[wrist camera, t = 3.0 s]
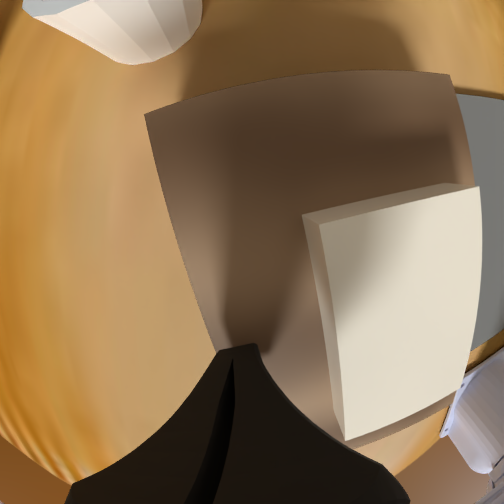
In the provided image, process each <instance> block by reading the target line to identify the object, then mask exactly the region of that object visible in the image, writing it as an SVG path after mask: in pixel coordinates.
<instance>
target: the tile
mask: <svg viewBox="0 0 504 504" xmlns="http://www.w3.org/2000/svg"><path fill="white" fill-rule="evenodd" d="M302 219H303V224H304V228H305V233H306V238H307V243H308V248H309V253H310V258H311V263H312V268H313V273H314V279H315V284H316V290H317V295H318V301H319V307H320V313H321V319H322V325H323V332H324V338H325V345H326V352H327V359H328V367H329V374H330V382H331V391H332V399H333V409H334V412H335V415H336V418H337V420H338V423H339V426H340V428H341V431H342V434H343V436H344V439H345V441H347V440H350V439H353V438H356V437H359V436H362V435H364V434H367V433H370V432H372V431H375V430H377V429H380V428H382V427H385V426H387V425H390V424H392V423H394V422H396V421H399V420H401V419H403V418H405V417H407V416H410V415H412V414H414V413H416V412H418V411H420V410H422V409H424V408H426V407H428V406H430V405H431V404H433V403H435V402H437V401H439V400H441V399H442V398H444V397H446V396H448V395H449V394H451V393H453V392H454V391H456V390H458V389H459V388H460V387H461V384H462V381H463V377H464V374H465V370H466V366H467V362H468V358H469V354H470V349H471V345H472V340H473V334H474V329H475V323H476V317H477V310H478V302H479V293H480V282H481V268H482V214H481V199H480V188H479V186H472V185H462V184H452V183H441V184H436V185H432V186H427V187H422V188H417V189H412V190H408V191H403V192H398V193H394V194H389V195H385V196H380V197H376V198H371V199H367V200H362V201H358V202H354V203H349V204H345V205H341V206H336V207H332V208H328V209H324V210H319V211H315V212H311V213H307V214H303V215H302Z"/></svg>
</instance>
